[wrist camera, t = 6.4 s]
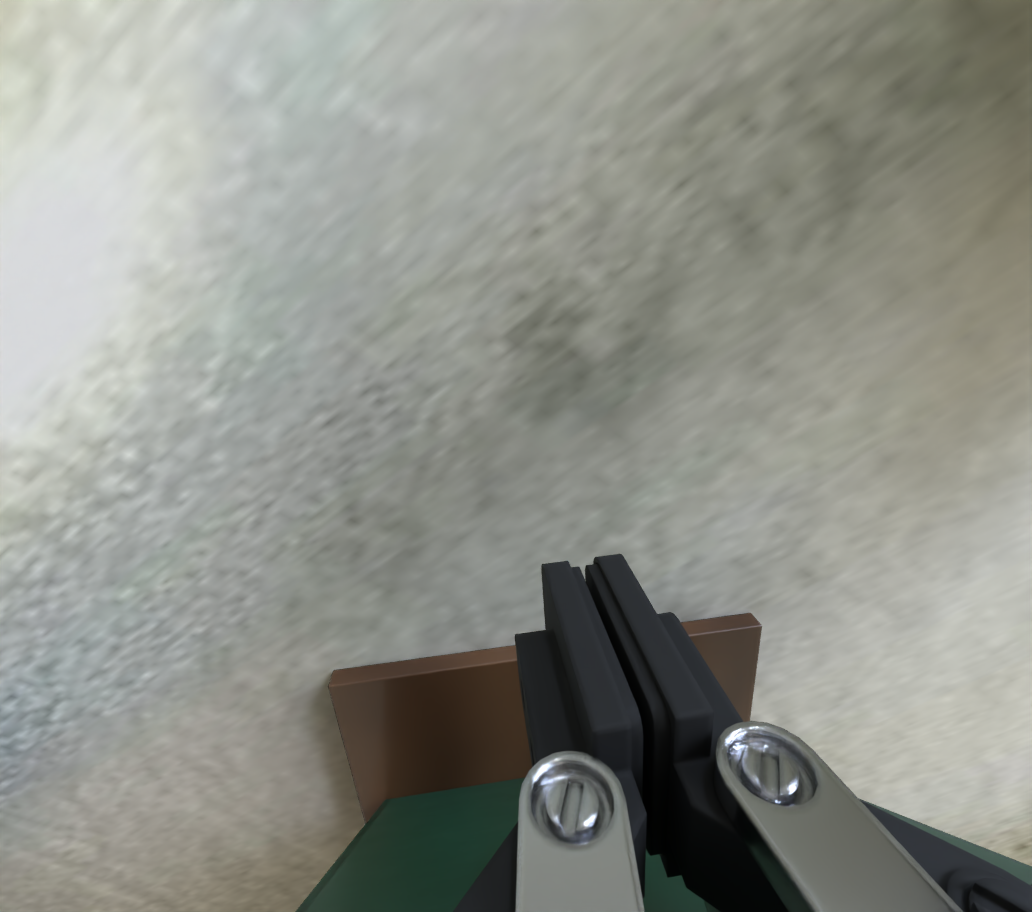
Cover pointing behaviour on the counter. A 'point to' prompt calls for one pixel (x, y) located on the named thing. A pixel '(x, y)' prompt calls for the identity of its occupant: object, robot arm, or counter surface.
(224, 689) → the counter surface
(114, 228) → the counter surface
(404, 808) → the book
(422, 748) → the bookend
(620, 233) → the counter surface
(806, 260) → the counter surface
